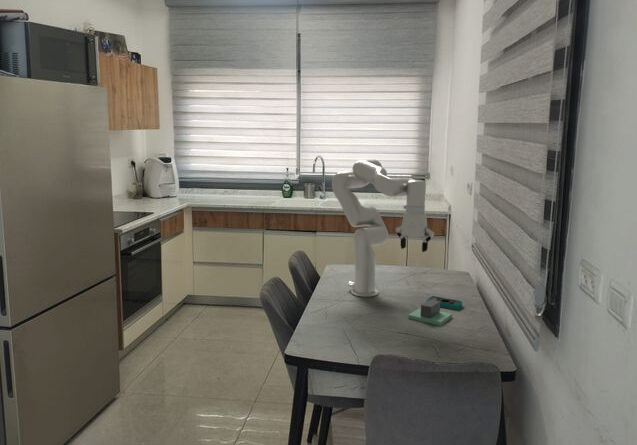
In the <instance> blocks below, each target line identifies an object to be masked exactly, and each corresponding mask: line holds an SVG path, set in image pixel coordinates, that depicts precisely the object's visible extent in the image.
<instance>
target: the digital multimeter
mask: <svg viewBox="0 0 637 445" xmlns="http://www.w3.org/2000/svg"><path fill="white" fill-rule="evenodd" d="M430 299H431V300H436V301H440V308H445V309H448V310H449V309H450V310H455V311H459V310H460V309H462V307H463V301H461V300H458V299H450V298H446V297H441V296H435V295H432V296H430V297H428V298H427V299H426V301H425V302H427V301H429V300H430Z"/></svg>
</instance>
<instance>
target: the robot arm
mask: <svg viewBox="0 0 637 445" xmlns="http://www.w3.org/2000/svg"><path fill="white" fill-rule="evenodd" d="M369 184H371V185H373V186H374V188H375V190H376V191H377V192H379V193H381V194H383V195H385V196H387V197H393V198H394V197H395V198H396V197H405V196H406V205H404V206H403V209H404V210H405V211H404V212H403V217H402V220H401V221H402V222H401V225H400V226H397V227H395V232H396V235H397V236H398V238H399V239H400V249H402V250H403V249H405V248H406V246H407V239H406V237H410V238H418V239H421V240H422V241H423V242H422V244H421V251H422V253H425V252H427V250H428V244H429V241H430V240H432V239H433V237H434V235H435V232H434V231H433V230H431V228H428V220H427V213H425V207H426V206H425V205H426V204H425V203H426V186H427V184H426V182H425V181H424V180H422V179H413V178H411V177H410V178H409V177H398V178H397V177H395V178H390V177H388V174H387V170H386V168H384V167H383V165H382V163H381V162H380V161H379V160H378V159H360V160H357V161H355V162H354V164H353V166H352V170H342V171H338V172H336V173H335V174H334V175H333V177H332V181H331V188H332V189H331V190H332V191H333V194H334V196H335V197H336V199H337V201H338V202H339V205H340V206H341V208H342V210H343V213H344V215H345V216H346V220H347V221H348V223H349V224H350V226H351V227H353V228H358V229H357V230H355V231H354V233H353V245H354V252H355V253H354V256H355V257H354V281H351V280H350V281H348V284H347V286H348V287H351V288H352V289H351V291H350V293H351V295H354V296H357V297H364V298H368V297H375V296H377V295H378V294H379V290H378V289H376V260H377V258H376V253H375V251H374V248H373V247H378V246H382V245H385V244H386V243H387V242H388V241H389V232H388V228H387V227H386V225H385V222H384V220H383V218H382V216H381V214H380V212H379V210H377V208H376V207H374V206H373V205H362V204H361V203H360V201H359V199H358V197H357V196H356V194H355V193H354V192H353V191H351V190H350V189H360V188H364V187H366V186H368V185H369ZM427 234H429V235H428V236H427Z"/></svg>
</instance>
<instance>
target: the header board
mask: <svg viewBox="0 0 637 445" xmlns="http://www.w3.org/2000/svg"><path fill="white" fill-rule="evenodd" d="M407 316H408V317H407V318H408V319H409V320H414V321H418V322H423V323H427V324H432V325H436V326H442V325H443V324H445V323H446V322H448V321H449V320H450V319H452V318H453V314H452V313H451V312H450V313H449V312H445V311H441V310H440V313H438V314H437V315H435V316H434V317H432V318H431V319H430V318H426V317H421V307H419V308H417V309H416V310H414V311H412V312H411V313H409V314H408V315H407Z"/></svg>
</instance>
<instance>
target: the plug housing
mask: <svg viewBox="0 0 637 445" xmlns="http://www.w3.org/2000/svg"><path fill="white" fill-rule="evenodd" d="M426 301H427V300H426ZM426 301H425V302H424V303H422V304H421V305H420V308H421V317H426V318H430V319H431V318H432V317H434V316H435V315H437V314H438V313H440V311H441V307H440V301H436V300H431V299H430V300H429V301H427V302H426Z"/></svg>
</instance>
